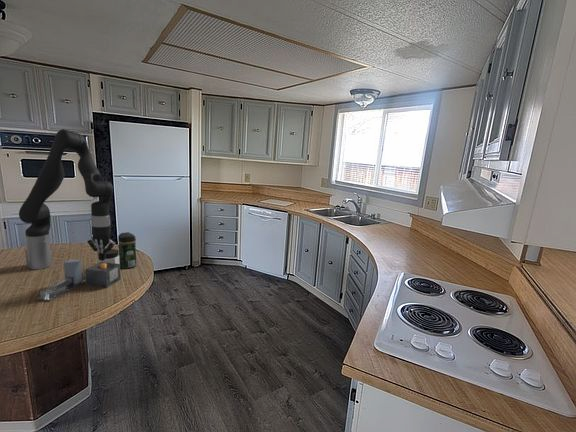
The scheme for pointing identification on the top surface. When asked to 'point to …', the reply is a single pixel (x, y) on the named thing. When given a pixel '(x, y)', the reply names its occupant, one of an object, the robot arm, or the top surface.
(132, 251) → the coffee jar
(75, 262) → the block
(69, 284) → the rail
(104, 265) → the orange peg
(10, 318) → the top surface
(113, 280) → the block with square hole
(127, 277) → the top surface
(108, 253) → the jar
